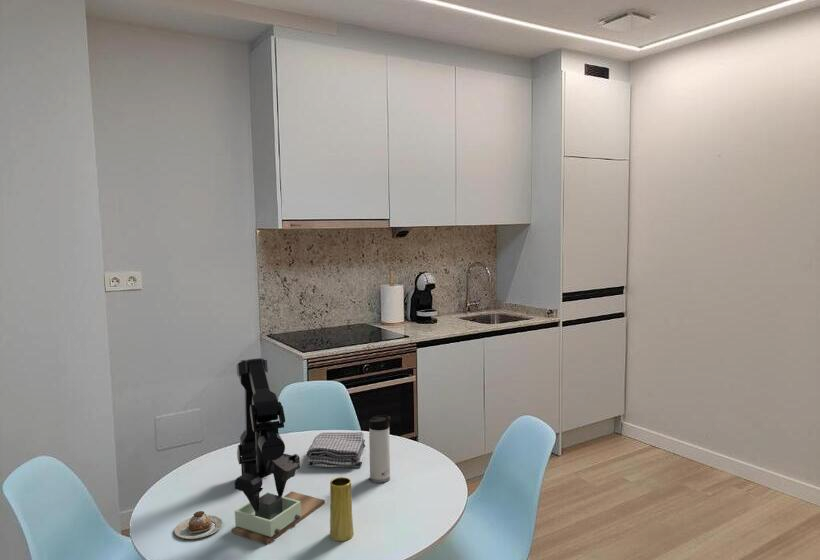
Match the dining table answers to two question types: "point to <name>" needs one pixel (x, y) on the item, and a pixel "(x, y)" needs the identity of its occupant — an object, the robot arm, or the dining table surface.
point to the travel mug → (379, 449)
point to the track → (307, 508)
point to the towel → (336, 450)
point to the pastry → (198, 525)
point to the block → (269, 506)
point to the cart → (264, 526)
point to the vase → (341, 509)
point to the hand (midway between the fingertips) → (268, 503)
